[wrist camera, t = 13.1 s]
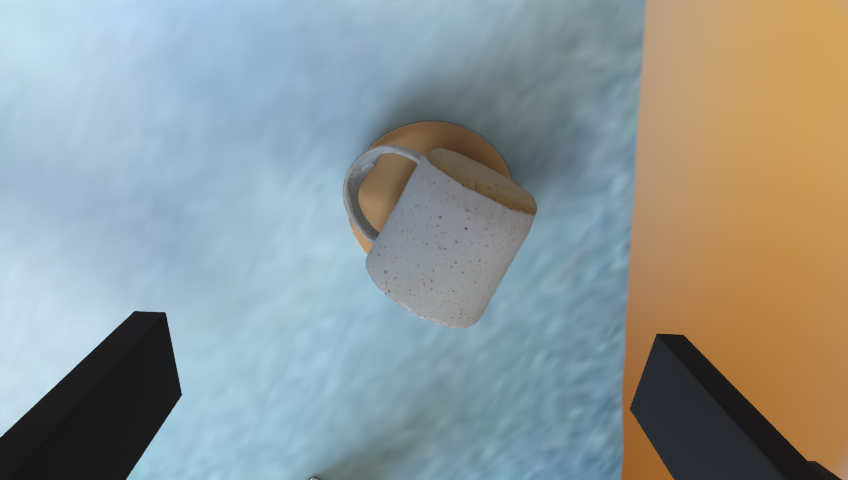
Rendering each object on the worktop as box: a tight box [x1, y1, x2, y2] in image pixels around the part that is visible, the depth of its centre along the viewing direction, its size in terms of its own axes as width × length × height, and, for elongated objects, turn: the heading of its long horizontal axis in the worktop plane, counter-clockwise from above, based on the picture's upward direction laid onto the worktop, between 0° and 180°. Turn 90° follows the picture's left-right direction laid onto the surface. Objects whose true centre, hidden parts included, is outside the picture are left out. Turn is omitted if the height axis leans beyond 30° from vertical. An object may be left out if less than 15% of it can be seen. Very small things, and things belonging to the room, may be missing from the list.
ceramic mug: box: [343, 145, 537, 328], centre depth 24 cm, size 11×8×8 cm
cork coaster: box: [348, 121, 512, 254], centre depth 28 cm, size 11×11×1 cm
